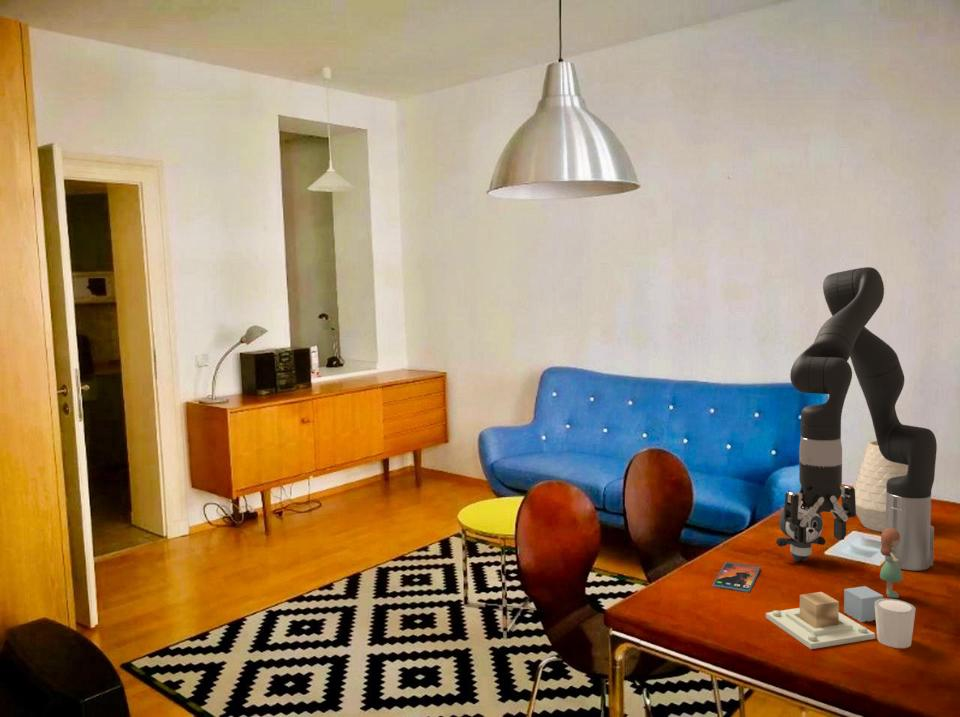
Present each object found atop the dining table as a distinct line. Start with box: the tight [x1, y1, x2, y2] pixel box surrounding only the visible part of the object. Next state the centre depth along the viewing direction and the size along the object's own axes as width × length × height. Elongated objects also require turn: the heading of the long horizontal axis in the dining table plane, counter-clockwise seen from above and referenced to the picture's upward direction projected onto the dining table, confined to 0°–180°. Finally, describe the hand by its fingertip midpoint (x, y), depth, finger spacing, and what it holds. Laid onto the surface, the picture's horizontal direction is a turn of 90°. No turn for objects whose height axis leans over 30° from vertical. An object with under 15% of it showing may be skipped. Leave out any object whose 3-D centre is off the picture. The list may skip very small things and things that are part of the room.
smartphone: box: [712, 561, 761, 594], centre depth 175 cm, size 8×1×15 cm
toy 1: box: [775, 501, 826, 562], centre depth 182 cm, size 12×10×15 cm
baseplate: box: [765, 607, 876, 650], centre depth 149 cm, size 14×14×2 cm
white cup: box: [874, 598, 916, 649], centre depth 142 cm, size 7×7×7 cm
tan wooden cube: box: [799, 591, 840, 629], centre depth 149 cm, size 5×5×5 cm
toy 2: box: [879, 528, 904, 599], centre depth 161 cm, size 13×4×15 cm, turn 163°
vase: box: [853, 440, 908, 533], centre depth 205 cm, size 18×17×23 cm
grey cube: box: [843, 585, 884, 623], centre depth 153 cm, size 5×5×5 cm
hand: (819, 541), depth 147 cm, fingers open, 8 cm apart
